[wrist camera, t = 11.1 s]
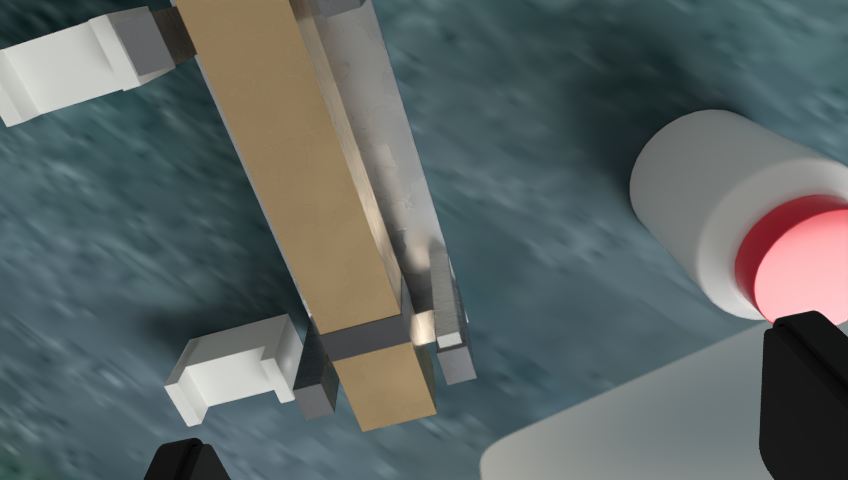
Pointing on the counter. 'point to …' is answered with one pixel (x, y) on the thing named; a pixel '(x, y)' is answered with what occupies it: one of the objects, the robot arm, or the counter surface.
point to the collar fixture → (385, 166)
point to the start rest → (113, 70)
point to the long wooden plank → (317, 197)
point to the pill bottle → (747, 215)
